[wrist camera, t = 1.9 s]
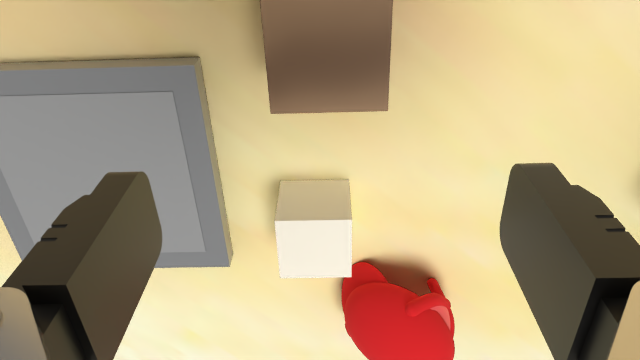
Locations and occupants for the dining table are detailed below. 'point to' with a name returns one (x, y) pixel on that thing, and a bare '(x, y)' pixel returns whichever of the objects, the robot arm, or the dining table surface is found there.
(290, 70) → the walnut block
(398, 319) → the red rounded lumpy piece
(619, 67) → the dining table surface
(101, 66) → the plate
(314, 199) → the cream block
